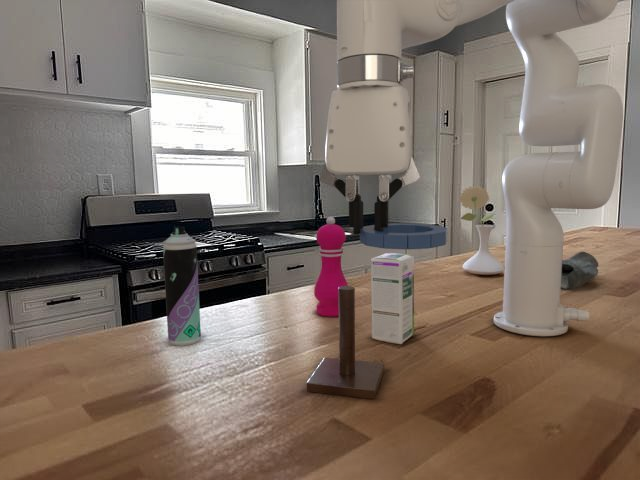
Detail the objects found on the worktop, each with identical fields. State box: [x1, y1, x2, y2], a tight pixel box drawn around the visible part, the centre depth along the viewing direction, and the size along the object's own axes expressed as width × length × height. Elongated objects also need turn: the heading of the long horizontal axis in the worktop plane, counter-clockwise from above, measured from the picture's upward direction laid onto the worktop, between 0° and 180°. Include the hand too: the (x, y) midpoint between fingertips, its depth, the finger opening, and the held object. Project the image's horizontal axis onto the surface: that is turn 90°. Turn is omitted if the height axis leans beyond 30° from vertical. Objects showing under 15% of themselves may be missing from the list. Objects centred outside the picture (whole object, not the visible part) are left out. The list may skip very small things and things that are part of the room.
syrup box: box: [370, 252, 415, 345], centre depth 80 cm, size 6×6×14 cm
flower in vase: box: [458, 185, 505, 276], centre depth 131 cm, size 13×11×25 cm
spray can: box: [162, 226, 202, 347], centre depth 80 cm, size 6×6×20 cm
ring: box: [359, 222, 449, 250], centre depth 56 cm, size 10×10×2 cm
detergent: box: [561, 251, 599, 290], centre depth 122 cm, size 13×7×25 cm
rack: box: [306, 285, 385, 400], centre depth 63 cm, size 9×9×13 cm
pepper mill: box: [313, 216, 349, 318], centre depth 95 cm, size 7×7×20 cm
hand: (368, 232), depth 57 cm, fingers closed on ring, 2 cm apart
